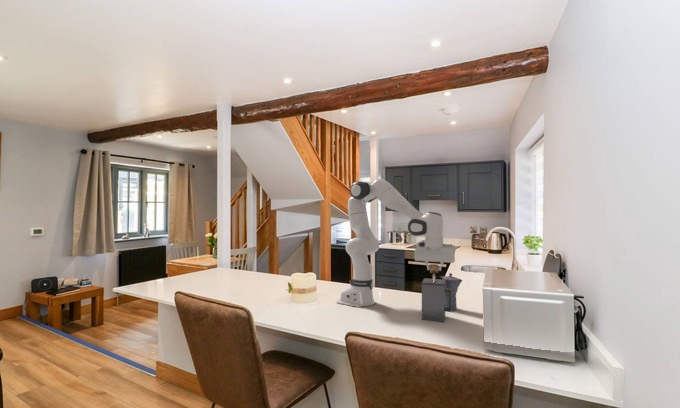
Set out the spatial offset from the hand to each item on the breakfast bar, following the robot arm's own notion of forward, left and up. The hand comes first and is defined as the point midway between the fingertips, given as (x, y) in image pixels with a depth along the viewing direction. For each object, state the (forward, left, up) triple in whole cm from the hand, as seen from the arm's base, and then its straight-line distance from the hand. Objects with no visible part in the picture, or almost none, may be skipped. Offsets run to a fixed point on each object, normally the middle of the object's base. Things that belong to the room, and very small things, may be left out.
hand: (434, 270), depth 181 cm
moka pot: (+6, +20, -25) cm, 32 cm away
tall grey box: (+2, 0, -24) cm, 25 cm away
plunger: (0, 0, -20) cm, 20 cm away
